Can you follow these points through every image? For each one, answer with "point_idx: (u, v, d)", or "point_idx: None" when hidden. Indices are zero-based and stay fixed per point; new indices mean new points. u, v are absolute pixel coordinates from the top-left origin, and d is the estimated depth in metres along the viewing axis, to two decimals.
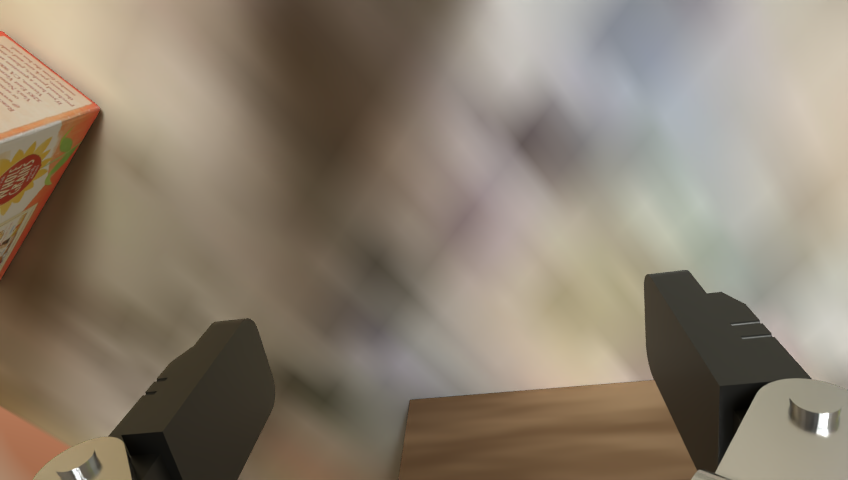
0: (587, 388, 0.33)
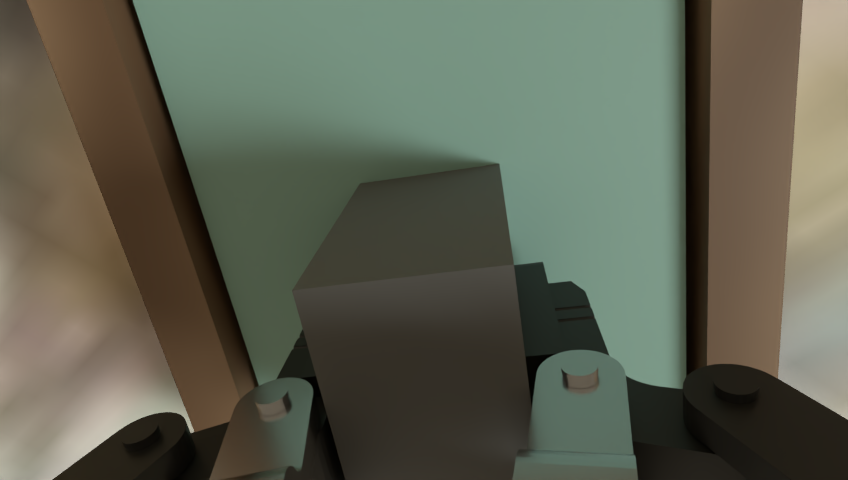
0: None
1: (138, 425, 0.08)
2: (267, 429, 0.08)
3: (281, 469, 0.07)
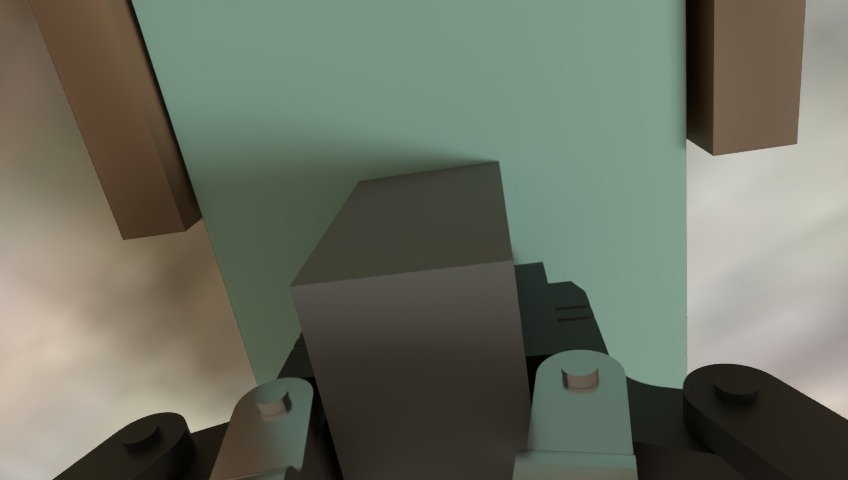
0: None
1: (138, 425, 0.08)
2: (267, 428, 0.08)
3: (281, 469, 0.07)
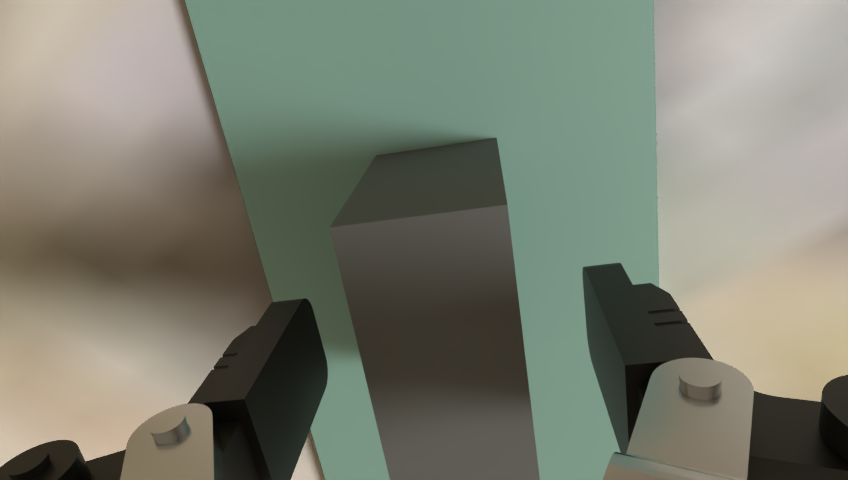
0: None
1: (24, 456, 0.08)
2: (169, 455, 0.08)
3: None
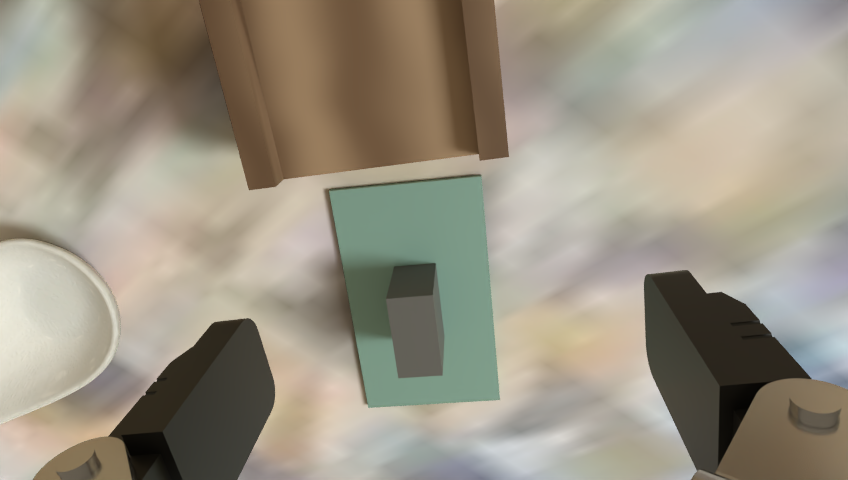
0: None
1: None
2: None
3: None
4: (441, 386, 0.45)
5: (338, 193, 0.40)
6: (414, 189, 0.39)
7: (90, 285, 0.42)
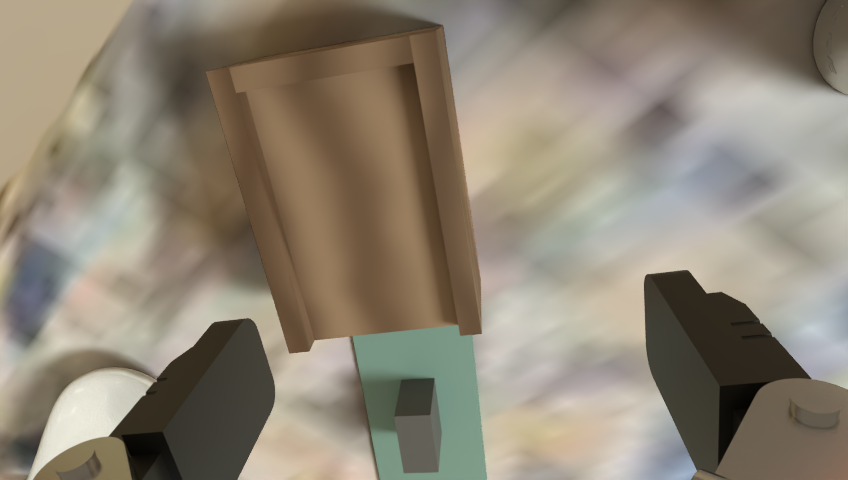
0: (463, 166, 0.44)
1: None
2: None
3: None
4: (439, 469, 0.56)
5: None
6: None
7: None
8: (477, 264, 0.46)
